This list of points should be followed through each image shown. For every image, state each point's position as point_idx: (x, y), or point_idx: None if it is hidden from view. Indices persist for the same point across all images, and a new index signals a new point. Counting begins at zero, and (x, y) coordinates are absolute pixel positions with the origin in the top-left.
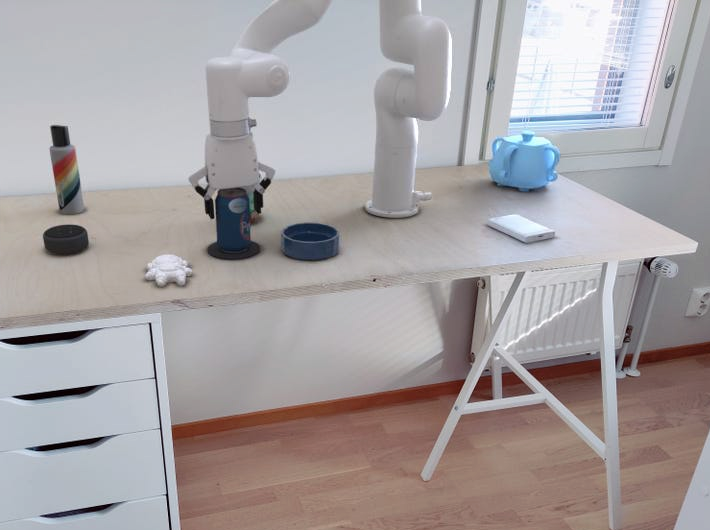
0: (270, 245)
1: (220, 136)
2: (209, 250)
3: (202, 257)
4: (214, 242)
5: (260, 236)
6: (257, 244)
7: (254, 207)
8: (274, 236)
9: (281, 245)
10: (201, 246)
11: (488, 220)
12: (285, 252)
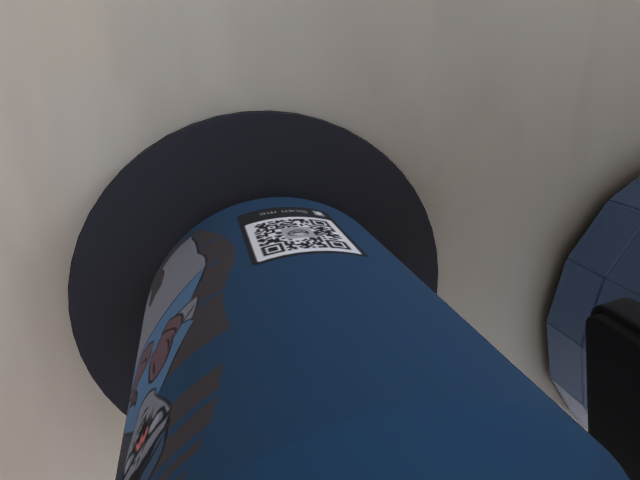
0: (499, 215)
1: None
2: (91, 344)
3: (55, 419)
4: (110, 188)
5: (463, 31)
6: (426, 235)
7: (605, 349)
8: (555, 42)
9: (565, 341)
10: (5, 222)
11: None
12: (559, 387)
